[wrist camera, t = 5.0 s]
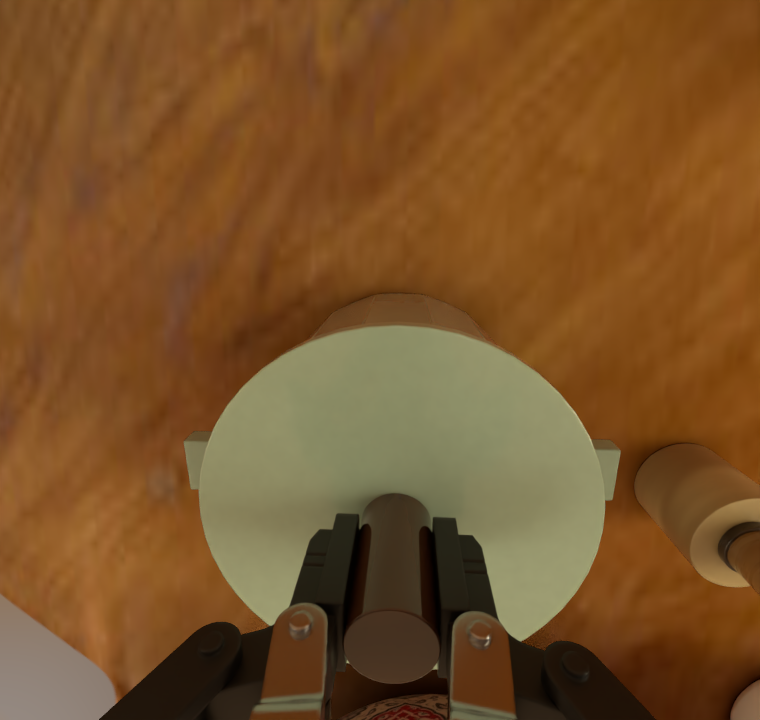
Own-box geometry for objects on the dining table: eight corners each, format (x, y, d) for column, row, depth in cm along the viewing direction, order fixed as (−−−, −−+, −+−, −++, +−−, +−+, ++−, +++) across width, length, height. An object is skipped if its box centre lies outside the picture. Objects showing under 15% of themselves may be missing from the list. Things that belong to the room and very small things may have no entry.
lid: (189, 314, 14) (52, 372, 9) (621, 319, 14) (768, 386, 8) (233, 634, 18) (158, 809, 13) (565, 652, 18) (636, 847, 12)
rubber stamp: (641, 441, 26) (817, 601, 15) (733, 443, 25) (981, 608, 14) (627, 516, 27) (777, 711, 16) (713, 519, 27) (925, 719, 16)
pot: (237, 292, 24) (154, 324, 16) (568, 293, 23) (655, 328, 15) (257, 490, 28) (198, 596, 20) (543, 497, 27) (602, 612, 19)
